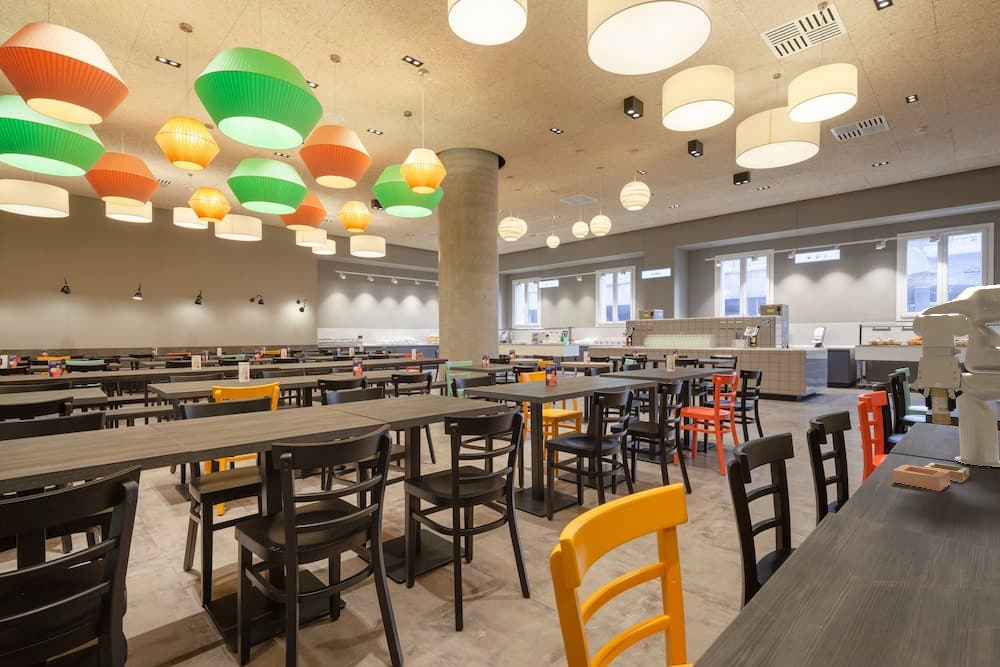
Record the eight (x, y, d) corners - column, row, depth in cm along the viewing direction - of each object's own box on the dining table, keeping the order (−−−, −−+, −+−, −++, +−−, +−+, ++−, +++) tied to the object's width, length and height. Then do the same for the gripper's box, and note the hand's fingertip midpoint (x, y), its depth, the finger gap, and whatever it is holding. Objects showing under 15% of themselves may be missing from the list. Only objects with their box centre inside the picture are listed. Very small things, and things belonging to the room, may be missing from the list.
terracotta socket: (904, 476, 152) (904, 464, 152) (950, 484, 143) (949, 471, 143) (893, 483, 146) (892, 470, 146) (939, 491, 137) (939, 477, 137)
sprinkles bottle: (951, 423, 151) (949, 381, 151) (950, 425, 147) (948, 381, 148) (932, 421, 154) (930, 380, 154) (931, 423, 151) (929, 381, 151)
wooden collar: (932, 471, 157) (931, 462, 157) (969, 477, 150) (969, 467, 150) (923, 476, 152) (923, 466, 152) (962, 482, 145) (961, 472, 145)
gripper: (978, 352, 147) (980, 412, 146) (908, 352, 160) (910, 406, 160) (971, 353, 142) (974, 414, 142) (900, 353, 156) (903, 408, 156)
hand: (940, 409), depth 151 cm, fingers closed on sprinkles bottle, 4 cm apart
